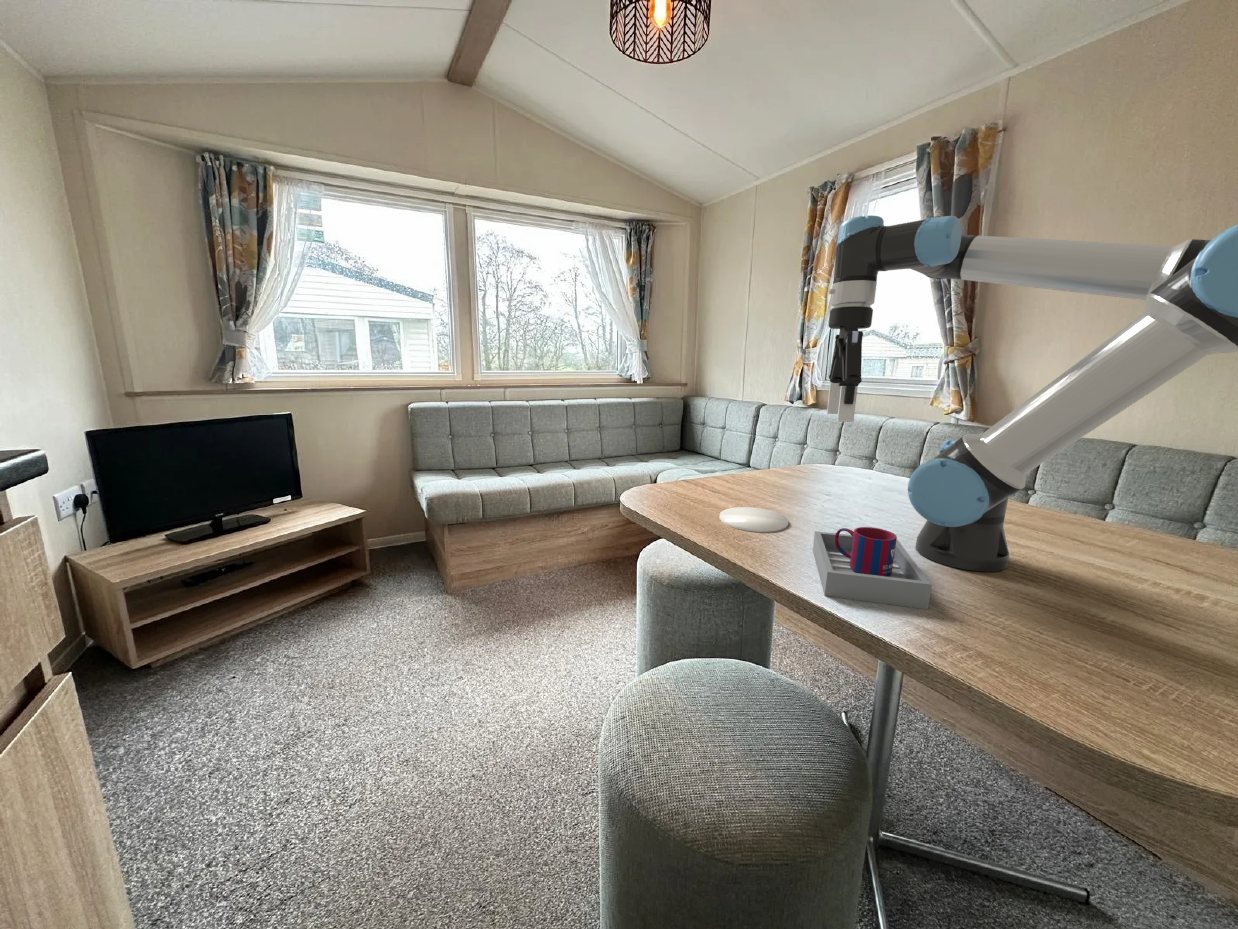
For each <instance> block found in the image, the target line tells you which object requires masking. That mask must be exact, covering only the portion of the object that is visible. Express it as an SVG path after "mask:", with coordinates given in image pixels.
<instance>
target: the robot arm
mask: <svg viewBox="0 0 1238 929" xmlns="http://www.w3.org/2000/svg"><path fill="white" fill-rule="evenodd" d="M884 223H885V221H884V219H883V218H882V217H881V216H879V215H864V216H863V215H858V216H854V217H851V218H848V219H846V220H845V221H843V222H842V223H841V225H840V226H839V229H838V234H837V235H838V236H837V240H836V245H835V259H834V260H835V261H834V270H833V271H834V272H833V281H832V288H830V289H829V290H828V294H829V295H832V296H831V300H830V301H831V302H830V304H831V306H832V307H833V308H831V309H830V310H829V316H828V317H829V318H828V325H827V326H828V328H830V329H832V330H840V331H839V334H836V335H835V340H834V348H833V354H832V359H831V365H830V371H829V375H828V378H829V382H830V383H829V387H828V388H829V389H828V390H829V392H828V399H827V408H826V414H827V415H837V420H836V421H837V422H842V423H854V421H855V410H856V404H857V396H858V387H859V384H861V383H862V358H863V357H862V356H863V355H862V352H863V349H862V347H863V337H864V332H863V331H860V329H861V330H863V329H869V328H871V326H872V323H873V322H872V321H873V313H874V309H873V307H871V306H872V305H873V304H875V300H876V299H875V298H876V292H877V291H876V290H877V285H878V284H877V281H878V274H879V273H878V272H888V271H897V270H909V269H910V270H911V271H912V270H913V271H914V272H917V273H920V274H922V275H925V277H928V278H930V279H935V280H947V279H948V280H949V279H950V280H962V281H972V282H980V283H981V282H982V283H988V284H997V285H1004V286H1005V285H1006V286H1007V285H1008V286H1016V287H1024V288H1034V289H1041V290H1042V289H1043V290H1051V291H1061V292H1068V293H1069V292H1070V293H1077V294H1088V295H1096V296H1102V297H1111V298H1113V297H1114V298H1123V299H1131V300H1132V299H1133V300H1139V301H1140V300H1141V301H1145V306H1144V310H1143V312H1142V313H1141V314H1140V315H1139V316H1137V317H1136V318H1135V319H1133V320H1132V321H1130V323H1128V324H1127V325H1126V326H1124V327H1123V328H1122V329H1120V330H1119V331H1117V332H1116V333H1115V334H1113V335H1111V337H1109V338H1108V339H1107V340H1105V341H1104V342H1102V344H1100V345H1099V346H1097V347H1096V348H1095V349H1093V350H1092V351H1091V352H1089V353H1088V354H1087V355H1085V356H1084V357H1083V358H1082V359H1080V360H1079V361H1078V362H1076V363H1075V364H1073V365H1072V366H1071V367H1069V368H1068V369H1067V370H1065V371H1064V372H1062V373H1061V374H1060V375H1059V376H1058V377H1056V378H1055V379H1053V380H1052V381H1051V382H1049V383H1048V384H1047V385H1045V386H1044V387H1042V388H1041V389H1040V390H1039V391H1037V392H1036V393H1035V394H1033V395H1032V396H1031V397H1029V398H1028V399H1027V400H1025V401H1024V402H1023V403H1021V404H1020V405H1019V406H1017V407H1016V408H1015V409H1014V410H1012V411H1010V412H1009V413H1007V415H1005V416H1004V417H1003V418H1001V419H1000V420H998V422H996V423H995V424H993V425H992V426H991V427H989V428H987V430H985V431H984V432H983V433H980V434H979V433H978V434H977V433H976V434H975V433H974V434H973V433H972V434H971V433H968V434H967V433H966V434H965V435H962V436H961V437H960V438H959V439H957V440H953V439H947V440H944V441H943V442H942V444H941V447H940V449H939V454H938V455H936V456H935V457H934V458H932V459H929V460H928V461H924V462H923V463H921V464H919V465H918V467H916V469H915V470H914V471H913V473H911V475H910V478H909V481H908V483H907V495H908V499H909V502H910V504H911V505H912V507H913V509H914V510H915V511H916V513H918V515H920V516H921V517H922V518H923V519H925V520H926V522H925V523H924V525H923V527H922V528H921V530H920V532H918V535H917V537H916V542H915V550H916V551H917V552H918V554H920V555H921V556H923V557H924V558H925V559H926V558H927V559H929V560H931V561H932V562H933V561H934V562H936V563H938V564H942V565H945V566H949V567H952V568H955V569H956V568H957V569H961V570H967V571H973V572H974V571H976V572H987V573H988V572H992V573H993V572H999V571H1003V570H1005V569H1007V568H1008V565H1009V560H1010V552H1009V548H1008V543H1007V539H1006V538H1007V537H1006V534H1005V529H1004V523H1005V518H1006V517H1005V516H1006V513H1007V507H1008V502H1009V498H1010V497H1011V496H1014V495H1015V494H1016V493H1018V492H1019V491H1021V490H1022V489H1024V488H1025V487H1026V478H1027V474H1029V472H1032V470H1034V469H1035V468H1037V467H1039V466H1041V465H1042V464H1043V463H1045V462H1046V461H1048V460H1049V459H1051V458H1053V457H1054V456H1055V455H1057V454H1059V453H1060V452H1062V451H1063V450H1065V449H1066V448H1068V447H1069V446H1071V445H1072V444H1074V443H1075V442H1078V441H1079V440H1081V439H1082V438H1084V436H1086V435H1088V434H1089V433H1091V432H1092V431H1094V430H1096V429H1097V428H1098V427H1100V426H1102V425H1103V424H1104V423H1106V422H1108V421H1110V420H1111V419H1112V418H1114V417H1115V416H1117V415H1119V414H1120V413H1121V412H1123V411H1124V410H1126V409H1127V408H1129V407H1131V406H1132V405H1133V404H1135V403H1137V402H1138V401H1140V400H1141V399H1144V397H1147V396H1148V395H1149V394H1151V393H1152V392H1153V391H1155V390H1157V389H1159V388H1160V387H1161V386H1163V385H1165V384H1166V383H1168V382H1169V381H1171V380H1172V379H1173V378H1175V377H1177V376H1178V375H1180V374H1181V373H1183V372H1184V371H1186V370H1187V369H1189V368H1191V367H1192V366H1193V365H1196V363H1198V362H1201V360H1203V359H1205V358H1206V357H1207V356H1210V355H1215V354H1229V353H1238V223H1237V224H1235V225H1234V226H1230V227H1228V228H1227V229H1225V230H1224V231H1222V232H1220V233H1219V234H1217V235H1216V236H1215V237H1214V238H1212V239H1198V238H1197V239H1194V238H1192V239H1191V238H1189V239H1187V240H1185V241H1183V242H1181V243H1179V244H1177V245H1174V246H1172V245H1157V244H1156V245H1155V244H1138V243H1136V244H1135V243H1120V242H1103V241H1102V242H1100V241H1098V242H1097V241H1083V240H1082V241H1081V240H1069V239H1068V240H1064V239H1063V240H1062V239H1050V238H1049V239H1048V238H1047V239H1045V238H1028V237H1012V236H1011V237H1008V236H991V235H973V234H962V225H961V222H960V219H959V218H958V217H957V216H956V215H955V216H954V215H947V216H931V217H929V218H927V219H920V220H919V219H918V220H915V221H909V222H903V223H898V224H893V225H887V226H886V225H885V224H884Z"/></svg>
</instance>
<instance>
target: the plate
mask: <svg viewBox="0 0 1238 929" xmlns="http://www.w3.org/2000/svg"><path fill="white" fill-rule="evenodd" d="M718 518H719V521H720V520H721V521H720V522H721V523H722V524H724V525H725V524H726V526H728V527H730V528H733V529H737V530H742V531H747V532H753V533H772V532H779V531H782V530H785V529H787V527H788V526H789V519H788V518H787V517H786V516H785V515H783V514H782V513H779V512H778V511H777V512H776V511H774V510H769V509H765V508H759V507H751V506H750V507H749V506H745V507H744V506H740V507H738V506H737V507H731V508H727V509H726V508H725V509H724V510H721V511H720V513H719V517H718Z"/></svg>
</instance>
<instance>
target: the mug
mask: <svg viewBox="0 0 1238 929" xmlns="http://www.w3.org/2000/svg"><path fill="white" fill-rule="evenodd" d="M841 532H846V533H848V534H849V535H851V536H852V537H853V543H852V550H851V554H849V553H847V552H845V551H844V550H843V549H842V548H841V547H840V545H839V541H838V537H839V534H841ZM835 533H836V534H835V546H836V548H837V549H838V550H839V552H840V553H841V554H843V555H844V556H846V557H847V558H849V559H850V567H851V568H852V569H853V570H854V571H856V572H858V573H860V574H868V575H877V576H885V577H887V576H890V575H891V574H892V568H893V561H894V554H895V547H896V540H898V539H897V538H898V536H897V534H895V533H894V532H891V531H889V530H886V529H883V528H878V527H872V526H871V527H870V526H862V527H861V526H859V527H856V528H855V529H854V530H851V529H850V528H846V527H844V528H839V529H838V530H837V531H836V532H835Z"/></svg>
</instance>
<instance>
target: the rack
mask: <svg viewBox="0 0 1238 929" xmlns="http://www.w3.org/2000/svg"><path fill="white" fill-rule="evenodd" d="M813 533H814V534H813V545H812V553H813V557H814V561H815V564H816V568H817V572H818V575H819V579H820V584H821V587H822V591H823V595H824V596H825V597H831V598H839V599H840V598H841V599H847V600H855V601H862V602H869V603H877V604H886V605H893V606H900V607H907V608H915V609H922V610H928V609H929V604H930V596H931V592H932V585H933V584H932V583H931V581H929V579H928V578H927V576H926V574H924V573H923V571H922V570H921V569H920V567H919V565H918V564H917V563H916V562H915V560H914V559H913V558H912V557H911V555H910V554H909V552H908V551H907V550H906V549H905V547H904V546H903V545H902V543H901V542H900V541H899V540H898V539H897V540H896V547H895V554H894V561H893V568H892V574H891V575H890V576H887V577H885V576H877V575H868V574H860V573H858V572H856V571H854V570H853V569H852V568H851V567H850V559H849V558H847V557H846V556H844V555H843V554H841V553H840V552H839V550H838V549H837V548H836V546H835V534H836V532H825V531H818V530H817V531H816V530H815V531H814V532H813ZM838 541H839V545H840V547H841V548H842V549H843V550H844V551H845V552H847V553H849V554H851V550H852V543H853V537H852V536H851V534H845V533H840V534H839V537H838Z"/></svg>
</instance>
